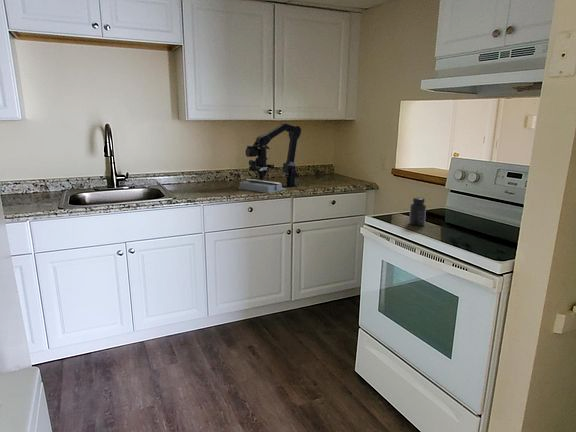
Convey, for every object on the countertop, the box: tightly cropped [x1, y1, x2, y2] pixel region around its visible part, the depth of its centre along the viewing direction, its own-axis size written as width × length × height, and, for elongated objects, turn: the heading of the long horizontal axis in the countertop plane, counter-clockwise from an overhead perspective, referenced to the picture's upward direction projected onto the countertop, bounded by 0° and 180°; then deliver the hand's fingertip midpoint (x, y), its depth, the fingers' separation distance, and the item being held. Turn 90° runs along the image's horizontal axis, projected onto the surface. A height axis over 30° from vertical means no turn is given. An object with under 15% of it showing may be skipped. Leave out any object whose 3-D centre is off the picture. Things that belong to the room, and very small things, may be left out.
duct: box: [237, 180, 287, 194], centre depth 273 cm, size 17×26×4 cm, turn 53°
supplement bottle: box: [408, 196, 427, 227], centre depth 189 cm, size 7×7×12 cm
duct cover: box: [245, 178, 282, 184], centre depth 273 cm, size 6×24×1 cm, turn 53°
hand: (261, 180), depth 272 cm, fingers closed, pressing on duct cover
